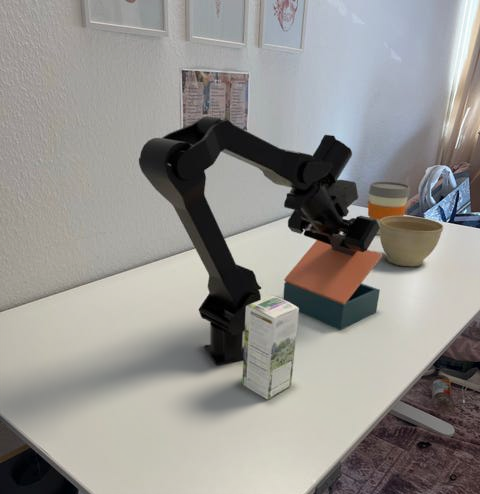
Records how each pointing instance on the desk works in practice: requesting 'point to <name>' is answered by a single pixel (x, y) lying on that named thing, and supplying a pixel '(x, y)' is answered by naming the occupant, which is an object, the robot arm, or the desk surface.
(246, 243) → the desk surface
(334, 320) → the box
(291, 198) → the robot arm
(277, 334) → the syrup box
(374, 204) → the reusable coffee cup
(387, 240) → the planter bowl
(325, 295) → the lid
